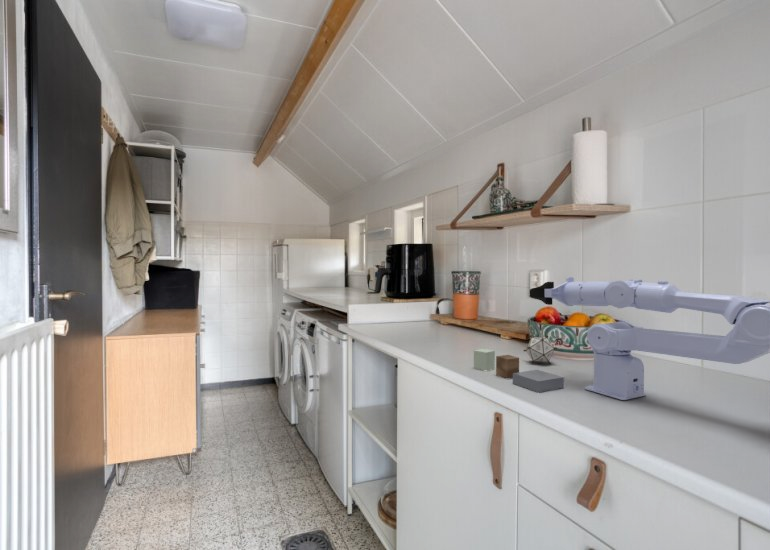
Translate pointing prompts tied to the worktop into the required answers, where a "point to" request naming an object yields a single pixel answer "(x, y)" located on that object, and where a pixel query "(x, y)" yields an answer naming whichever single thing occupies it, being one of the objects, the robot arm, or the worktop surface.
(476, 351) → the sage block
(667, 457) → the worktop surface
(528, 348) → the game die
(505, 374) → the walnut block
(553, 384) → the slate tile
